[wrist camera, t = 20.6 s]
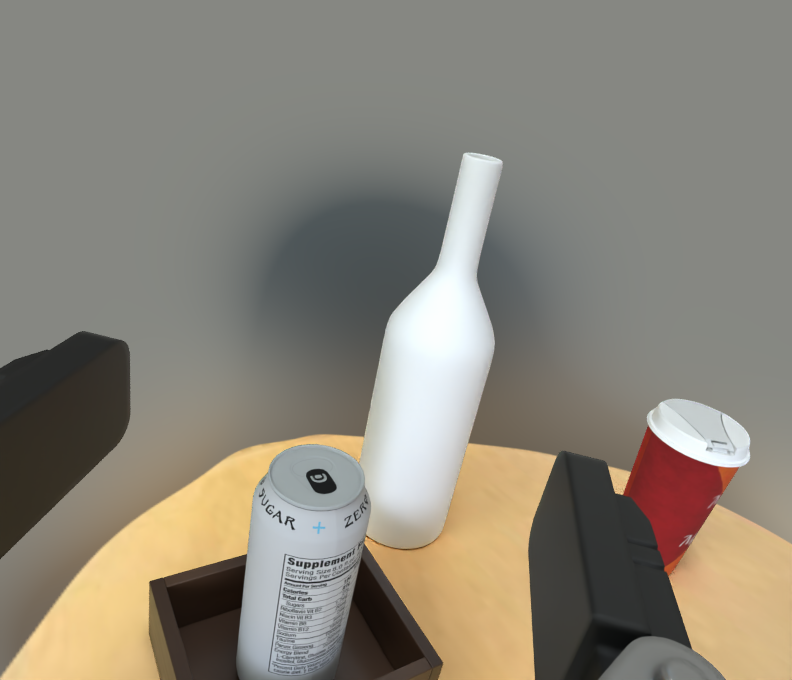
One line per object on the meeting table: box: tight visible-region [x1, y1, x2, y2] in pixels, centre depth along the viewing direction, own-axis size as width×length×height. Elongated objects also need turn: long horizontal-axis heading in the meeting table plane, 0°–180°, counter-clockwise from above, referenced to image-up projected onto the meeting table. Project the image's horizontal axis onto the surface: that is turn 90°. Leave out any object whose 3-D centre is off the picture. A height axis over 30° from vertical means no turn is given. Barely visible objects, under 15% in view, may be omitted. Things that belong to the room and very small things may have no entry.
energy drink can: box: [236, 444, 371, 680], centre depth 33 cm, size 6×6×15 cm
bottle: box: [359, 153, 503, 549], centre depth 45 cm, size 8×8×30 cm
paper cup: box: [623, 399, 750, 575], centre depth 49 cm, size 8×8×14 cm
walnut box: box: [149, 544, 443, 680], centre depth 36 cm, size 14×12×5 cm
